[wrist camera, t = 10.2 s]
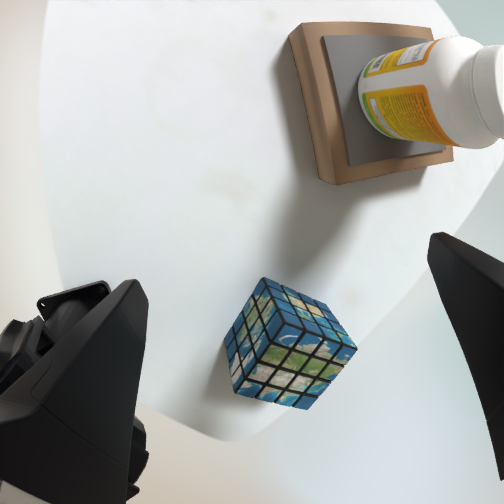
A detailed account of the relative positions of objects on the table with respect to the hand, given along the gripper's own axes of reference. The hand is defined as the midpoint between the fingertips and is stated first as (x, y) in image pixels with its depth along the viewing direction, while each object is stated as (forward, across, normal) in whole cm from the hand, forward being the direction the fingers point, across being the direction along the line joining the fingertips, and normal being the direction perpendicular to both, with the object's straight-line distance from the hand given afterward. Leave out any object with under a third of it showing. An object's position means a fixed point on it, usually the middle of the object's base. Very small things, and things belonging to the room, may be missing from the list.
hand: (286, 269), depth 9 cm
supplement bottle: (+12, -8, -2) cm, 15 cm away
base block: (+15, -8, -2) cm, 17 cm away
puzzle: (+10, +2, +13) cm, 16 cm away
